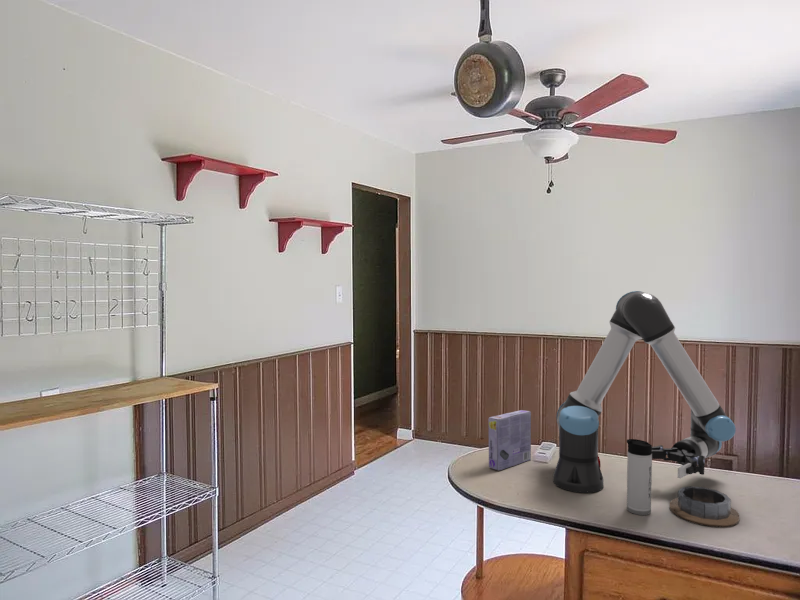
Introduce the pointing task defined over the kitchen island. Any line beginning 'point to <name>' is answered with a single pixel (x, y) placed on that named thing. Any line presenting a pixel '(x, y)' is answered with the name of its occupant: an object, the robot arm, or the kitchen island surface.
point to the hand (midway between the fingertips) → (654, 466)
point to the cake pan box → (509, 439)
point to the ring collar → (704, 507)
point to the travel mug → (639, 477)
